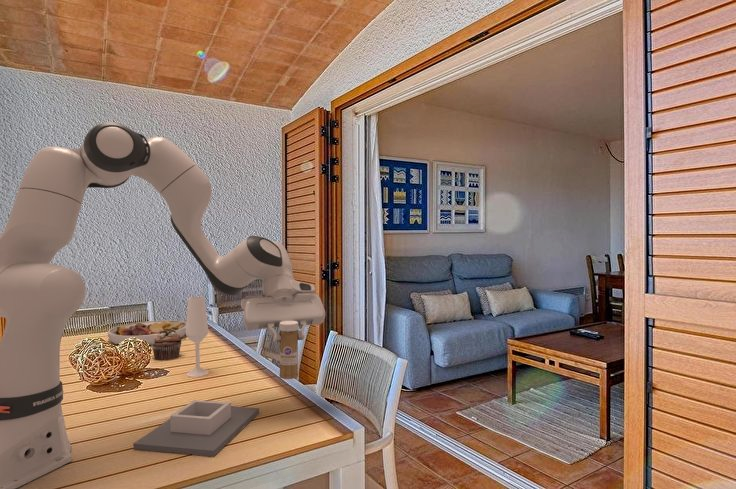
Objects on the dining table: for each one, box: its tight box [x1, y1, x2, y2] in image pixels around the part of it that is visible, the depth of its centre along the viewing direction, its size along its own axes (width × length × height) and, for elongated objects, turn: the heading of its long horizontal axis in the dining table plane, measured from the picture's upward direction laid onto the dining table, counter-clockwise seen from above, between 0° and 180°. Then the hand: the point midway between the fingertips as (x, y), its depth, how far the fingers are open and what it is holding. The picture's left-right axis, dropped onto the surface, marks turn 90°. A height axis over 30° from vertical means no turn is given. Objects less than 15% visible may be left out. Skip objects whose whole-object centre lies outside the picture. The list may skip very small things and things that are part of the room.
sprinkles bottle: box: [278, 321, 299, 380], centre depth 110 cm, size 5×5×13 cm
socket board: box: [132, 399, 260, 458], centre depth 103 cm, size 22×18×5 cm
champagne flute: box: [185, 296, 210, 378], centre depth 144 cm, size 7×7×24 cm
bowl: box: [107, 319, 187, 346], centre depth 190 cm, size 30×30×8 cm
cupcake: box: [151, 329, 182, 361], centre depth 162 cm, size 10×10×10 cm
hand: (289, 339), depth 110 cm, fingers closed on sprinkles bottle, 4 cm apart
